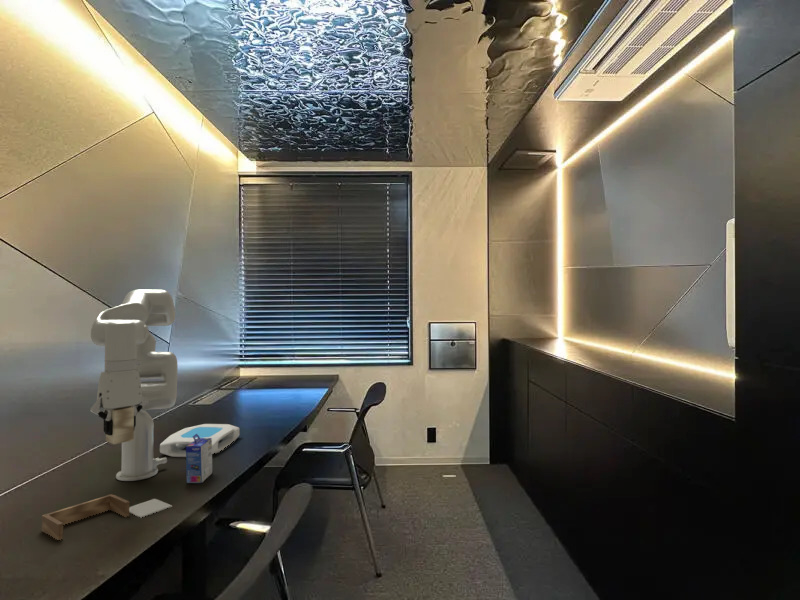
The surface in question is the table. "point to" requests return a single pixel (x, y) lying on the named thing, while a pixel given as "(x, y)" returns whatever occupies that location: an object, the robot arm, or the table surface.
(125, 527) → the table surface
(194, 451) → the ink cartridge box
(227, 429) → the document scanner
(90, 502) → the u-shaped frame
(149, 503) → the mat
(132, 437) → the block
